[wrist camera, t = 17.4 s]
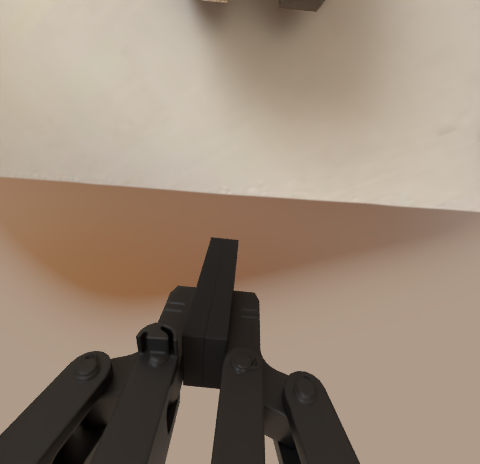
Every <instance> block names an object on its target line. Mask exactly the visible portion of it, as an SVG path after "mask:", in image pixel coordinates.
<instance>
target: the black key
mask: <svg viewBox="0 0 480 464" xmlns="http://www.w3.org/2000/svg"><path fill="white" fill-rule="evenodd" d="M324 1H325V0H280V1H279V8H285V9H296V10H306V11H317V10H318V9H319V7H320V6H321V5H322V3H323V2H324Z"/></svg>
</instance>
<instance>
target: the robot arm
mask: <svg viewBox="0 0 480 464" xmlns="http://www.w3.org/2000/svg"><path fill="white" fill-rule="evenodd" d="M237 251H238V240H232V239H222V238H211V241H210V244H209V247H208V251H207V254H206V257H205V261H204V264H203V267H202V271H201V274H200V277H199V281H198V284H197V287H185V286H177V287H176V288H175V289H174V290H173V291H172V292H171V293H170V295H169V298H168V300H167V303H166V305H165V307H164V310H163V312H162V314H161V316H160V319H159V321H158V323H153V324H150V325H148V326H146V327H145V328H143V329H142V330H141V331H140V332H139V333H138V335H137V336H136V339H137V346H138V352H136V353H134V354H132V355H128V356H123V357H118V358H113V359H110V357H109V356H108V355H107V354H106V353H104V352H100V351H93V352H88V353H85V354H83V355H81V356H79V357H77V358H76V359H75V360H74V361H72V362H71V363H70V364H69V365H68V366H67V367H66V368H65V369H64V370H63V371H62V372H61V373H60V375H58V377H56V378H55V379H54V381H53V382H52V383H51V384H50V385H49V386H48V387H47V388H46V389H45V390H44V391H43V392H42V393H41V394H40V395H39V396H38V397H37V398H36V399H35V400H34V401H33V402H32V403H31V404H30V405H29V406H28V407H27V408H26V409H25V410H24V411H23V412H22V413H21V414H20V415H19V417H18V418H17V419H16V420H15V421H14V422H13V423H12V424H11V425H10V426H9V427H8V428H7V429H6V430H5V431H4V432H3V433H2V434H1V435H0V464H165V461H166V457H167V452H168V448H169V444H170V440H171V436H172V431H173V427H174V423H175V419H176V415H177V411H178V407H179V403H180V389H181V385H182V381H183V385H187V386H196V387H206V388H216V389H220V394H219V403H218V411H217V419H216V428H215V436H214V444H213V452H212V460H211V464H265V443H264V442H265V441H264V440H265V439H264V435H266V436H268V437H270V438H272V439H273V441H274V445H275V449H276V453H277V457H278V461H279V464H360V463H359V461H358V459H357V456H356V454H355V452H354V450H353V448H352V445H351V443H350V441H349V439H348V437H347V435H346V433H345V430H344V428H343V426H342V424H341V422H340V420H339V418H338V415H337V413H336V411H335V409H334V407H333V405H332V402H331V400H330V399H329V396H328V394H327V392H326V390H325V388H324V386H323V385H322V383H321V382H320V380H318V379H317V378H316V377H315V376H313V375H312V374H309V373H307V372H301V371H297V372H294V373H291V374H290V375H289V376H288V375H286V374H284V373H282V372H279V371H277V370H275V369H273V368H272V367H270V366H269V365H268V364H267V363H266V362H265V360H264V359H263V357H262V355H261V351H260V320H259V319H260V317H259V316H260V314H259V300H258V298H257V296H256V295H255V293H252V292H242V291H234V290H233V289H234V281H235V271H236V261H237Z"/></svg>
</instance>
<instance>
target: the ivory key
mask: <svg viewBox="0 0 480 464" xmlns="http://www.w3.org/2000/svg"><path fill="white" fill-rule="evenodd" d="M203 1H213V2H223V3H227V2H228V0H203Z"/></svg>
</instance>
